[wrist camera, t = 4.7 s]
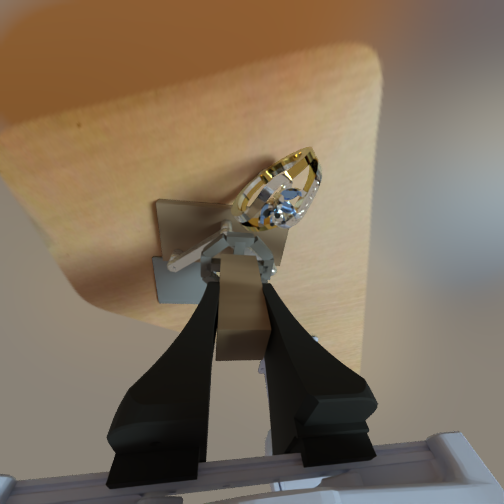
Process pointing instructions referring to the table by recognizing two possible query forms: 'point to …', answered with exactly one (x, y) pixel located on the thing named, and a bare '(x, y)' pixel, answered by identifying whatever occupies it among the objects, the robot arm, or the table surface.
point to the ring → (279, 193)
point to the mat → (178, 283)
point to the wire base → (206, 227)
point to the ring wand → (239, 295)
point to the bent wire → (194, 253)
